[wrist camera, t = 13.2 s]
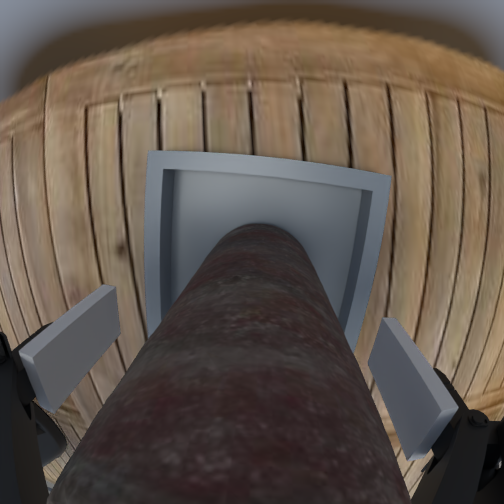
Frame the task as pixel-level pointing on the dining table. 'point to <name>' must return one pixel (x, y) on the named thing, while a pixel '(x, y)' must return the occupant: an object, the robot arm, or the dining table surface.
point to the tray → (262, 222)
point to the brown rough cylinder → (240, 397)
